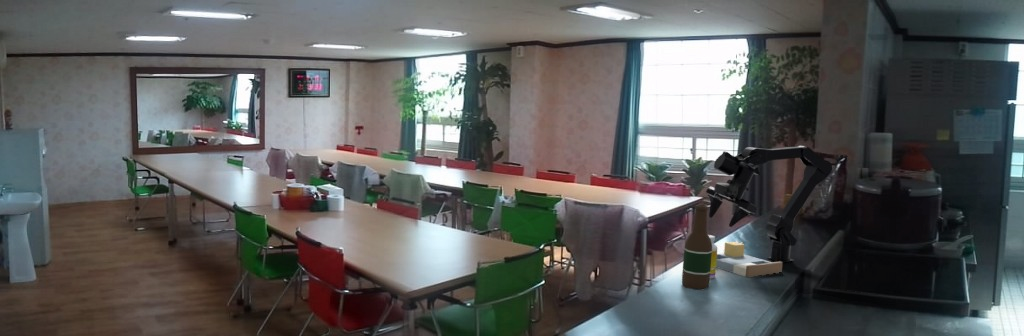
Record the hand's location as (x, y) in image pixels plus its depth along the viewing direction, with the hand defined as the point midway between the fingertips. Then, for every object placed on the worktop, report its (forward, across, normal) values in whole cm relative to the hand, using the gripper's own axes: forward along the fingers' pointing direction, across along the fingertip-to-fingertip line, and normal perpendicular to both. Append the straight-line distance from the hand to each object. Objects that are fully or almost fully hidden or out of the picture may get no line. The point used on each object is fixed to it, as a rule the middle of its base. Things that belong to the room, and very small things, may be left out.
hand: (719, 221), depth 228 cm
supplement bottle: (+18, +17, -16) cm, 30 cm away
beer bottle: (+21, +24, -27) cm, 42 cm away
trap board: (+11, +13, +3) cm, 17 cm away
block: (+8, +7, +6) cm, 12 cm away
